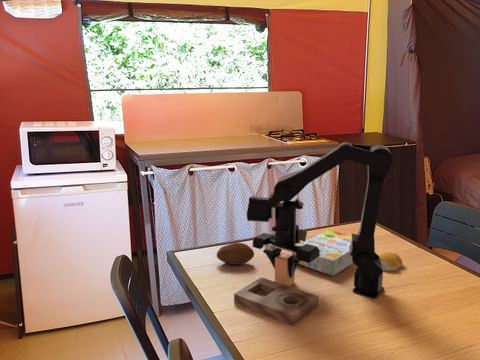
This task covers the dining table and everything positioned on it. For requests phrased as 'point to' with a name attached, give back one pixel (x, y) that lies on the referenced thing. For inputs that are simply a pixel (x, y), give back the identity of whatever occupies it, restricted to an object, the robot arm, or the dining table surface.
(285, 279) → the square peg
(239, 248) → the potato
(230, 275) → the dining table surface
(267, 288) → the socket board
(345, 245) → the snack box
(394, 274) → the dining table surface
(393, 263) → the bread roll
